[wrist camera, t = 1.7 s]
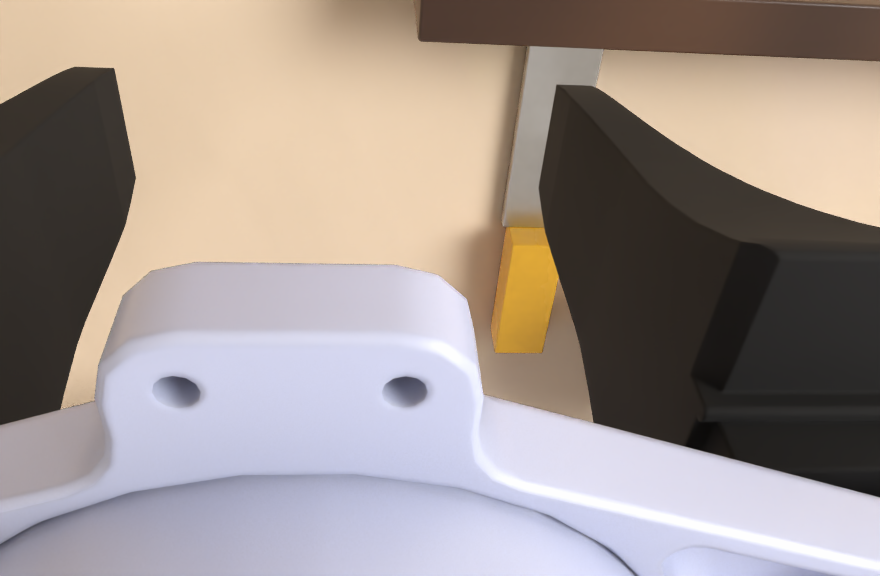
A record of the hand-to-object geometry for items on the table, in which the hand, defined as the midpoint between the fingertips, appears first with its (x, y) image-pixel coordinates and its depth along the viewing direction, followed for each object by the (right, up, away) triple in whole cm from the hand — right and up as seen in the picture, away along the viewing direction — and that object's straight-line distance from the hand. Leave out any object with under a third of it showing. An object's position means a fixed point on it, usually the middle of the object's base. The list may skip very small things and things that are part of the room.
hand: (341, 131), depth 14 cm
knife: (+5, 0, +14) cm, 15 cm away
